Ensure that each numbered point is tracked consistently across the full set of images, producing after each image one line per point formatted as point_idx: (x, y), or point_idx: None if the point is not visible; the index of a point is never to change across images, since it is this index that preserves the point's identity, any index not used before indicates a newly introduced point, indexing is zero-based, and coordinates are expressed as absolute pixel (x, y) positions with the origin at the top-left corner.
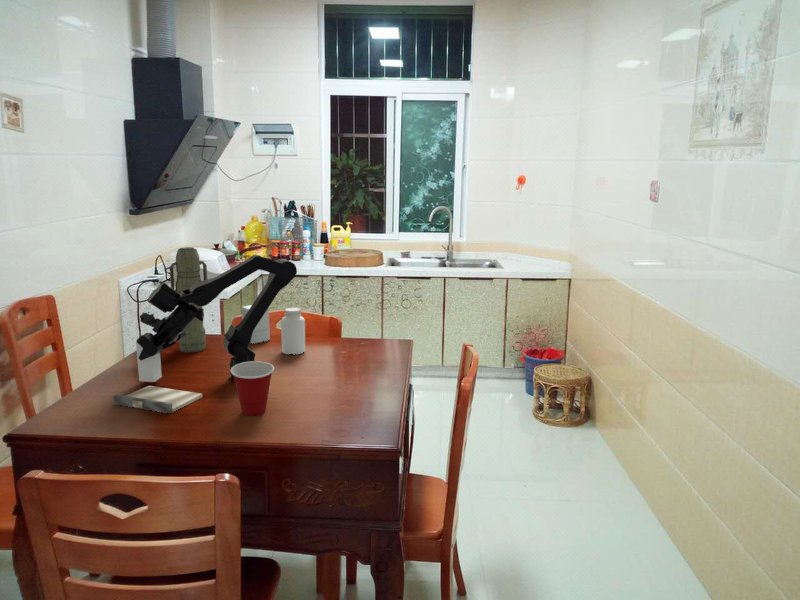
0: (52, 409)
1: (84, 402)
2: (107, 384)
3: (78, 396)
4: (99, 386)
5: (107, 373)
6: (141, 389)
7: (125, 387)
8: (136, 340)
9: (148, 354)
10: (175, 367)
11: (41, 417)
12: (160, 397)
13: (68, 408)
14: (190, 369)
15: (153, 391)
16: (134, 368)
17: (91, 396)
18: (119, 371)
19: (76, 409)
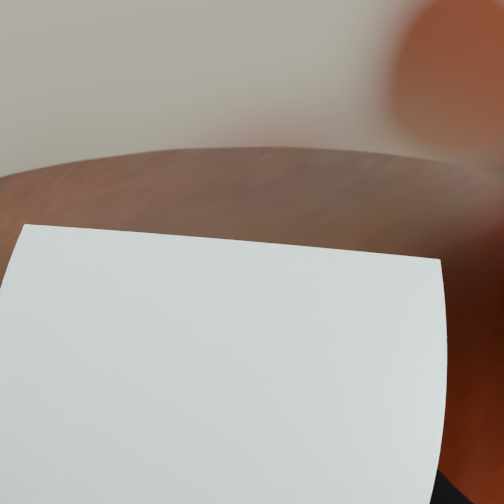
0: (36, 172)
1: (52, 220)
2: (236, 205)
3: (110, 175)
4: (210, 188)
5: (375, 156)
6: None
7: None
8: (35, 226)
9: None
10: (499, 405)
11: (4, 181)
12: None
13: (26, 204)
14: (473, 489)
15: None
16: (456, 228)
17: (99, 213)
18: (409, 187)
19: (13, 228)
